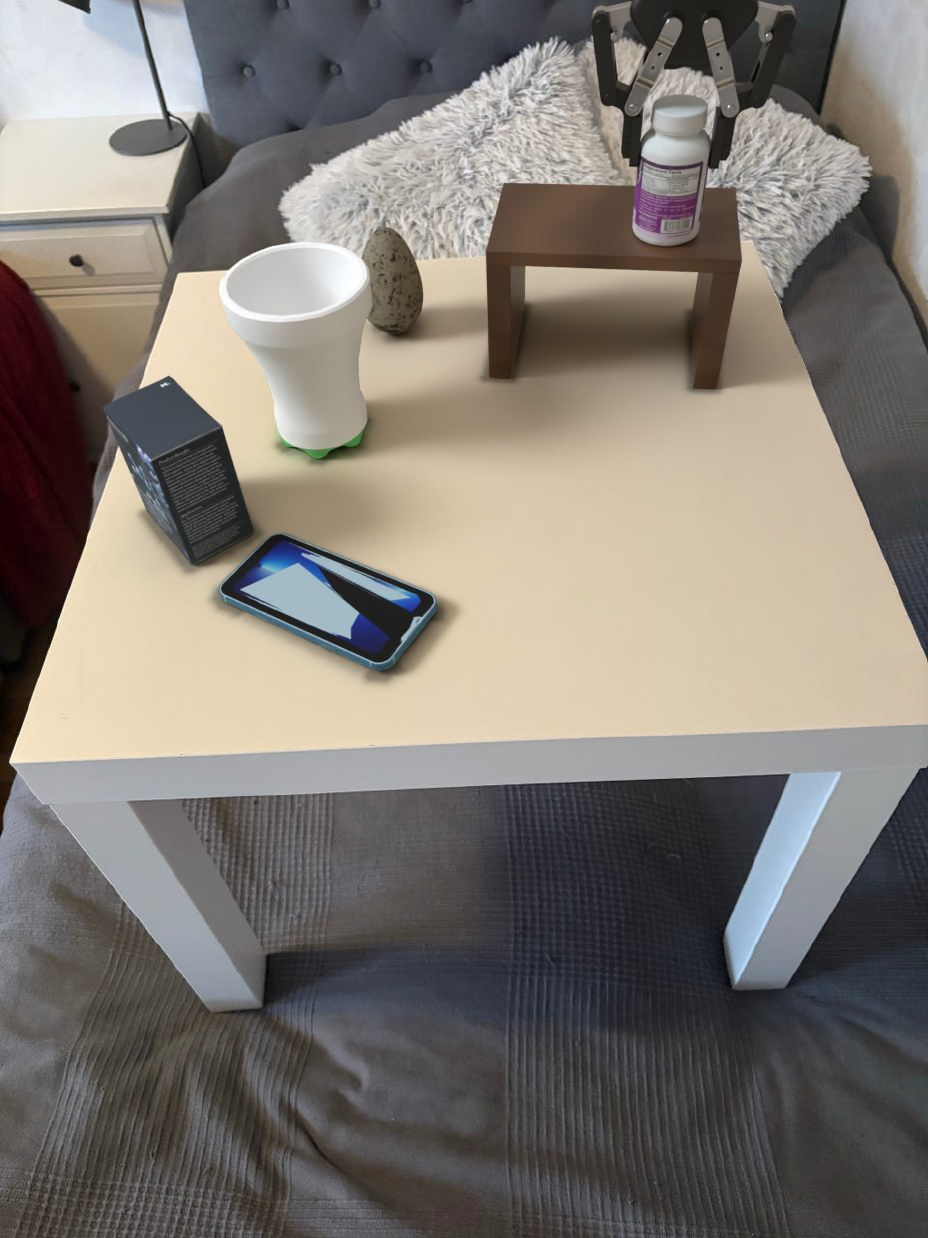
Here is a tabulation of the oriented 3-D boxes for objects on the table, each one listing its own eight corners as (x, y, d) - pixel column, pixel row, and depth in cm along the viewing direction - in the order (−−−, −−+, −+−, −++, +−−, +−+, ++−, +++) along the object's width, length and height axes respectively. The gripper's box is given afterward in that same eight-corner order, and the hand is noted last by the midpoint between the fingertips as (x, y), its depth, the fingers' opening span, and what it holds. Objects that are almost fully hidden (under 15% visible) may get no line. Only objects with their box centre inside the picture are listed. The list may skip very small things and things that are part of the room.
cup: (335, 492, 73) (304, 336, 63) (232, 447, 78) (186, 294, 67) (415, 416, 79) (399, 262, 68) (315, 379, 83) (285, 227, 73)
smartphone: (275, 528, 70) (442, 596, 64) (278, 537, 70) (443, 605, 65) (211, 591, 66) (383, 670, 60) (215, 600, 67) (385, 678, 61)
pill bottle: (647, 210, 76) (661, 84, 69) (708, 224, 74) (729, 95, 67) (620, 239, 73) (631, 111, 66) (682, 254, 72) (701, 123, 64)
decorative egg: (408, 352, 86) (397, 250, 78) (353, 339, 87) (337, 238, 80) (436, 319, 89) (429, 218, 81) (383, 307, 91) (371, 207, 83)
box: (146, 514, 73) (99, 404, 65) (209, 482, 75) (172, 372, 67) (191, 568, 69) (148, 459, 60) (257, 534, 71) (223, 423, 63)
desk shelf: (712, 313, 88) (735, 187, 78) (716, 389, 80) (742, 259, 71) (504, 305, 90) (503, 182, 81) (488, 377, 82) (485, 250, 73)
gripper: (589, -99, 55) (575, 184, 68) (835, -103, 54) (774, 188, 67) (595, -128, 60) (581, 141, 73) (822, -133, 58) (767, 144, 71)
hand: (673, 162), depth 70 cm, fingers closed on pill bottle, 5 cm apart
